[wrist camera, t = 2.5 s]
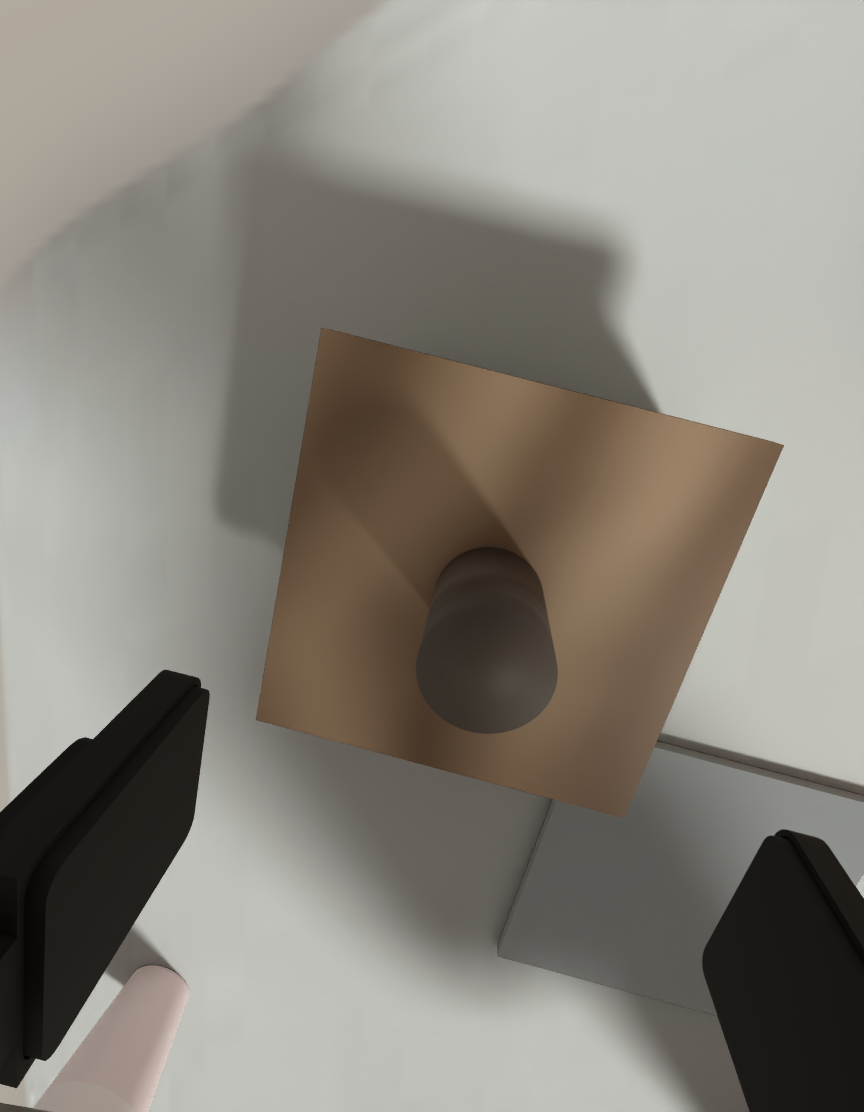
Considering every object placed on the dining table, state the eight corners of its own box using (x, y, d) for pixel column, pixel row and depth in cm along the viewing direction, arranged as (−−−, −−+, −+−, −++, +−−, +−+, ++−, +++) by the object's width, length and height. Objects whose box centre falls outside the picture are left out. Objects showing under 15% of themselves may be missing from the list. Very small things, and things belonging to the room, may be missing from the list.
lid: (772, 441, 19) (886, 477, 13) (619, 803, 23) (657, 941, 18) (328, 329, 19) (260, 319, 14) (263, 707, 24) (192, 815, 18)
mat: (893, 803, 29) (901, 812, 28) (762, 1018, 34) (767, 1029, 33) (581, 721, 29) (583, 728, 29) (497, 946, 34) (497, 956, 33)
